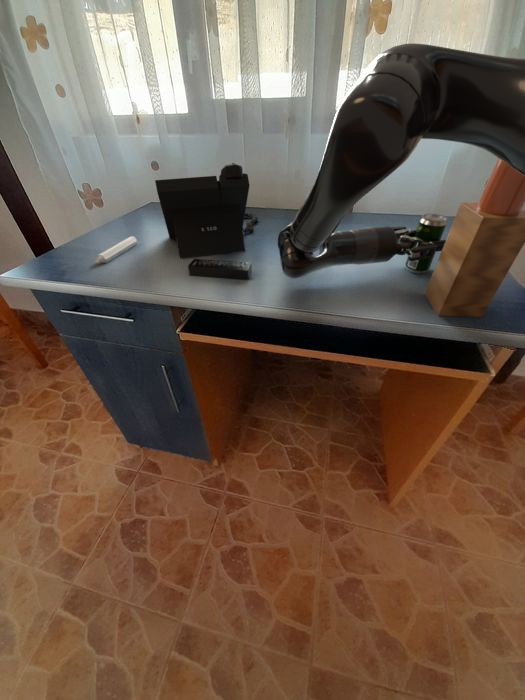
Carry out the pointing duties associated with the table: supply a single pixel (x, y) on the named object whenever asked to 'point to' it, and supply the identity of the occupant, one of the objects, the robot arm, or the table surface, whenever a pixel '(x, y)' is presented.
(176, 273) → the table surface
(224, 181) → the office phone
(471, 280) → the stand
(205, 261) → the multiport hub
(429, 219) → the beer can
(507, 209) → the cup
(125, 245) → the white pencil
